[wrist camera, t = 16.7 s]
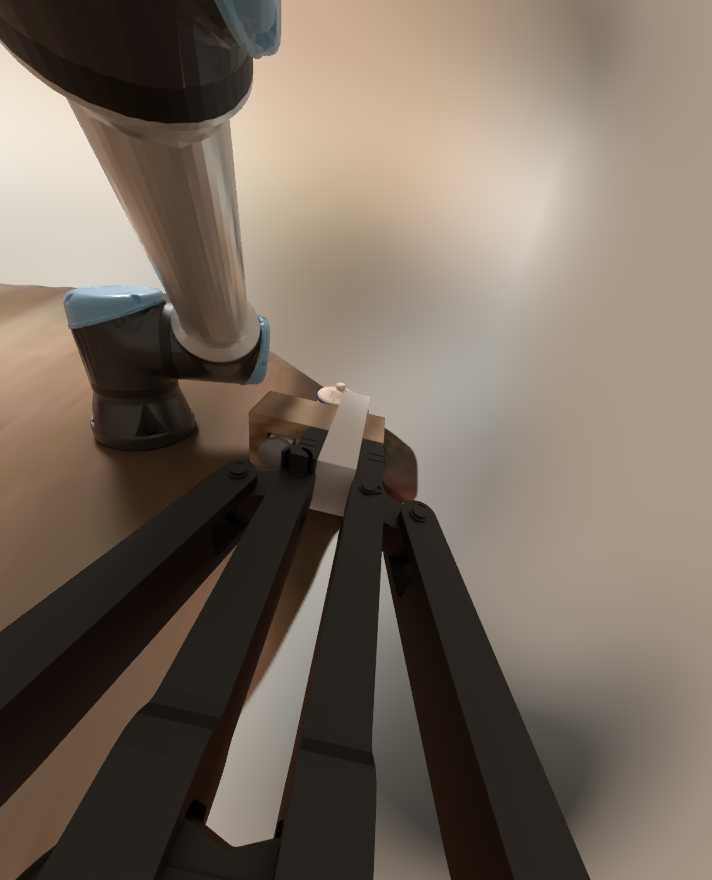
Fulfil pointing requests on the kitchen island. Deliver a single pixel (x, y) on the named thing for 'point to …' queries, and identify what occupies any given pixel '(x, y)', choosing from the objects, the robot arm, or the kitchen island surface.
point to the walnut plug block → (296, 421)
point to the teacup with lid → (332, 394)
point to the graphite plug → (273, 450)
